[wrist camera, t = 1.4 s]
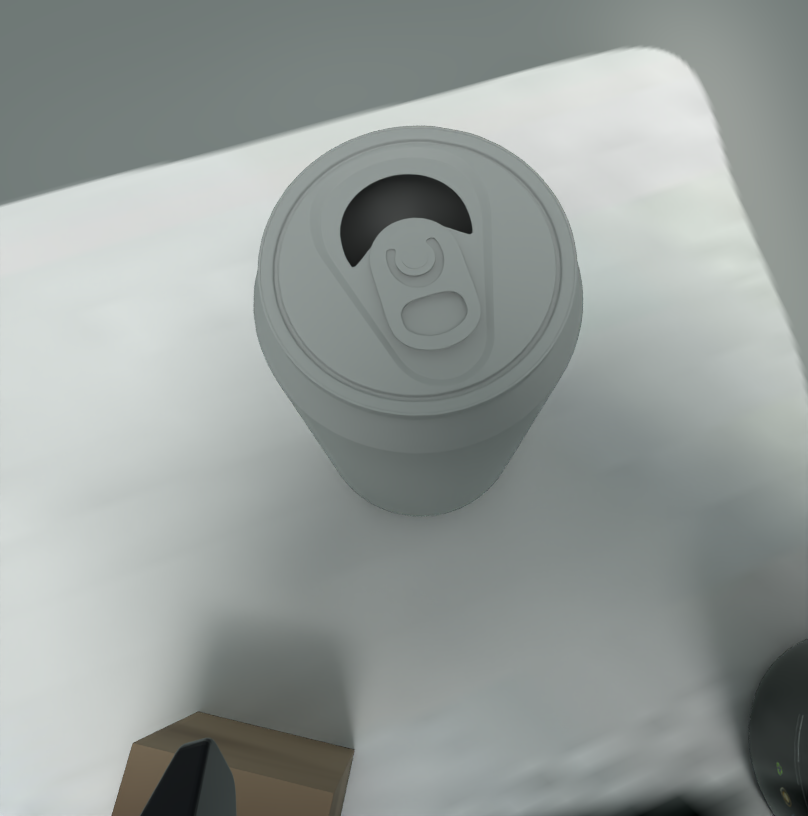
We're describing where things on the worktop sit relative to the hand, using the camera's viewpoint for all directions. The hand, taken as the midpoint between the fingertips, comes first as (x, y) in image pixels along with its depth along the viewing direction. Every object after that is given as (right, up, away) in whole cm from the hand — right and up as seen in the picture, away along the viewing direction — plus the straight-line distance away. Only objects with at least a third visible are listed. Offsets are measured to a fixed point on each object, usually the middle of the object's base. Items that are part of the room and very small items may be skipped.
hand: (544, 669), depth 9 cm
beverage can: (-1, +3, +14) cm, 15 cm away
